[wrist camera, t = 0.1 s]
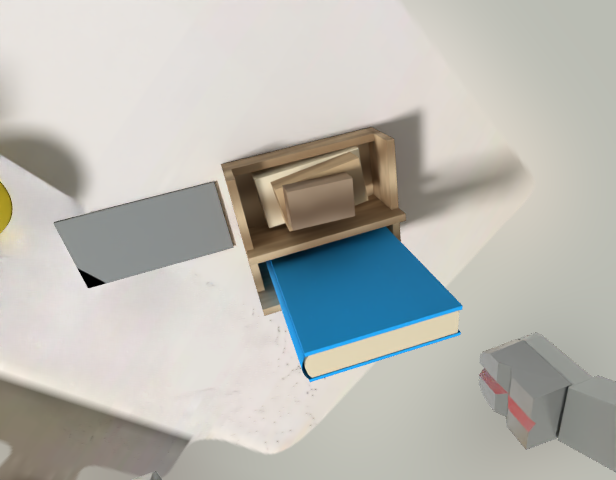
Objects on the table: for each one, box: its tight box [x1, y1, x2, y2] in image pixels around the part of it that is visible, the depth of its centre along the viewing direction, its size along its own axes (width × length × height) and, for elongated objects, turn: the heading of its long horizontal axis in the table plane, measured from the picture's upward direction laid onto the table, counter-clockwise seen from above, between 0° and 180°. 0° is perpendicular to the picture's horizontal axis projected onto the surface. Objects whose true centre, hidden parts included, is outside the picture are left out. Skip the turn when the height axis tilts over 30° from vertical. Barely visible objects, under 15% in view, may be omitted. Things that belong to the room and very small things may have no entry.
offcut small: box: [282, 172, 355, 231], centre depth 50 cm, size 5×8×2 cm, turn 97°
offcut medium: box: [270, 152, 368, 231], centre depth 53 cm, size 6×11×3 cm, turn 107°
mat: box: [54, 182, 234, 288], centre depth 55 cm, size 10×20×1 cm, turn 100°
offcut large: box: [251, 146, 363, 228], centre depth 55 cm, size 7×14×3 cm, turn 103°
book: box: [265, 226, 462, 382], centre depth 51 cm, size 17×4×25 cm, turn 98°
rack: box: [221, 127, 406, 316], centre depth 54 cm, size 17×21×11 cm
